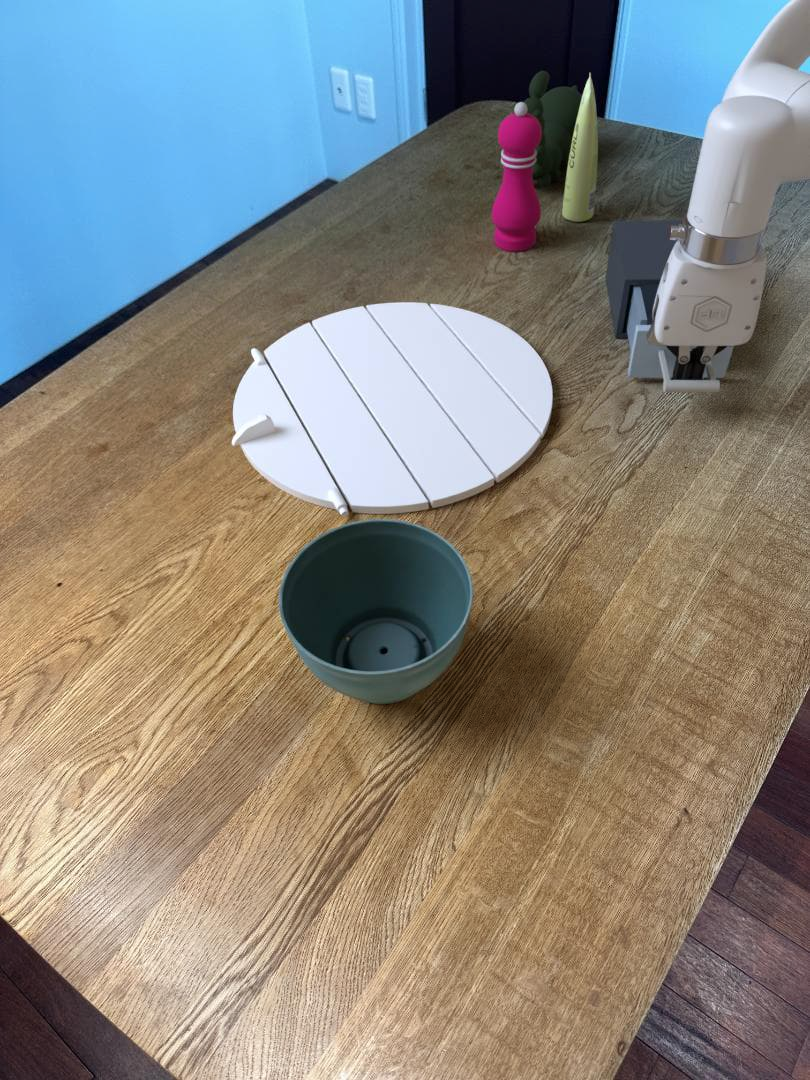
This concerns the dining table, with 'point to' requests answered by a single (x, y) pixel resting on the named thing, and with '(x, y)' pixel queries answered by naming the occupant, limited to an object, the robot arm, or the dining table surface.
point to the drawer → (663, 349)
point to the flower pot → (377, 607)
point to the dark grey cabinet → (635, 262)
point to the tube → (582, 161)
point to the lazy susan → (393, 407)
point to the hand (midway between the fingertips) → (685, 384)
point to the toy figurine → (552, 126)
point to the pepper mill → (517, 182)
